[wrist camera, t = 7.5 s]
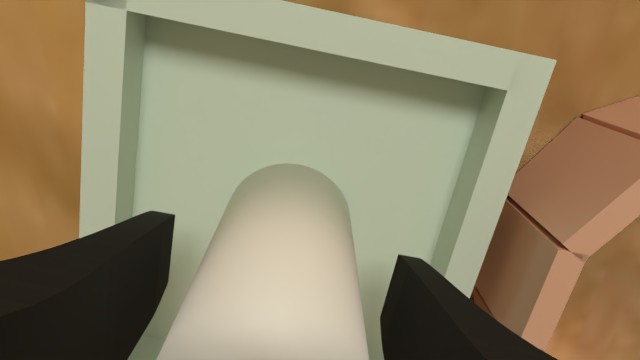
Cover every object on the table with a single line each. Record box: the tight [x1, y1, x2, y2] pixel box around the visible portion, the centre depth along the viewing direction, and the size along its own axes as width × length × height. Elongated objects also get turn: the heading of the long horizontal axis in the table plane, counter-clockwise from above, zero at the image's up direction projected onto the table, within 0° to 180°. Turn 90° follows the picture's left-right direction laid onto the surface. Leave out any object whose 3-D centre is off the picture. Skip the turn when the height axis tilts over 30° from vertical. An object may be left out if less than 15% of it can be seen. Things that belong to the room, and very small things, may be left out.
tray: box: [79, 0, 557, 360], centre depth 14 cm, size 12×13×2 cm
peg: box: [156, 163, 369, 360], centre depth 11 cm, size 4×4×7 cm
